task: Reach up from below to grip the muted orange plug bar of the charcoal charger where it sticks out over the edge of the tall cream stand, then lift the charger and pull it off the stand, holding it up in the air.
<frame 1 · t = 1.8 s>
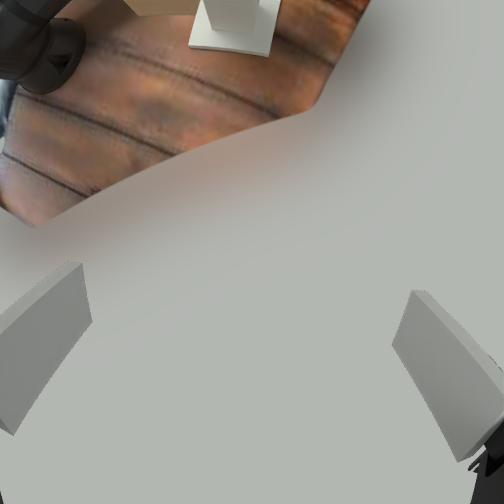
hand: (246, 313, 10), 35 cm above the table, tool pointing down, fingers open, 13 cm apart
tall stand: (236, 20, 33), on the table
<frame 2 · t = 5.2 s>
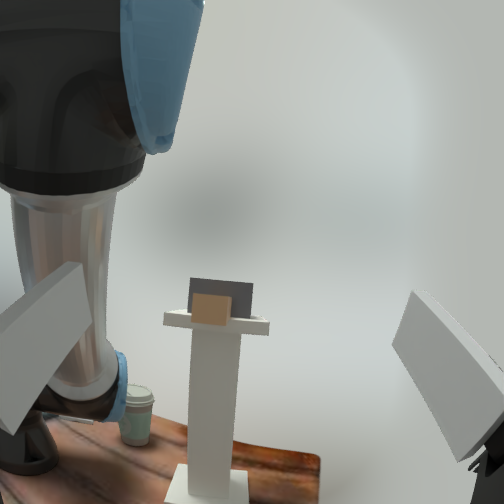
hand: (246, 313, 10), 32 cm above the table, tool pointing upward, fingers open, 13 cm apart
charger: (218, 316, 35), point 30 cm above the table, touching tall stand
tall stand: (209, 492, 32), on the table
external hard drive: (80, 414, 51), on the table
coffee cup: (135, 440, 46), on the table
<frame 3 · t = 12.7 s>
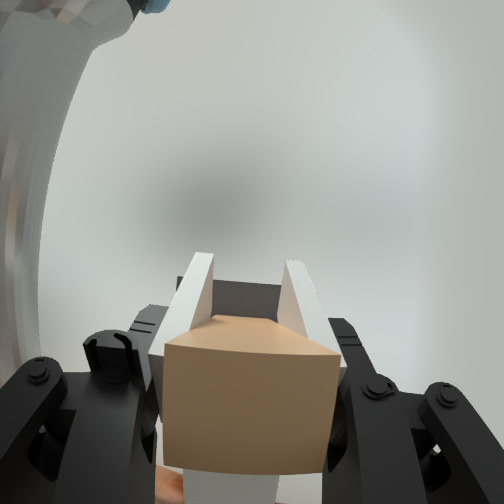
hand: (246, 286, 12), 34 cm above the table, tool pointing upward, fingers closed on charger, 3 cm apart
charger: (239, 358, 16), point 30 cm above the table, touching gripper, tall stand
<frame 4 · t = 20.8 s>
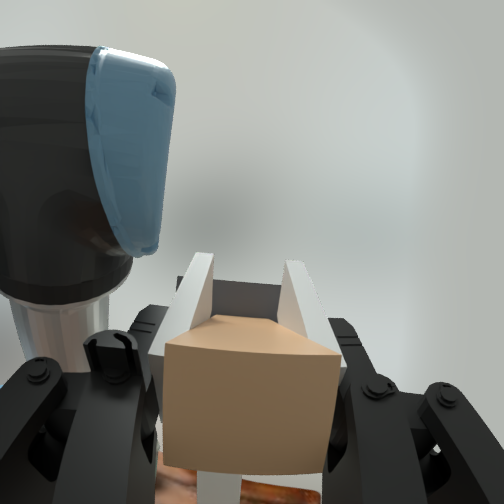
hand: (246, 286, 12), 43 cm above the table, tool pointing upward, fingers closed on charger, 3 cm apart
charger: (239, 358, 16), point 39 cm above the table, touching gripper
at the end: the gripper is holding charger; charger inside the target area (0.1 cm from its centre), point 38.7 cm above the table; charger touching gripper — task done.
